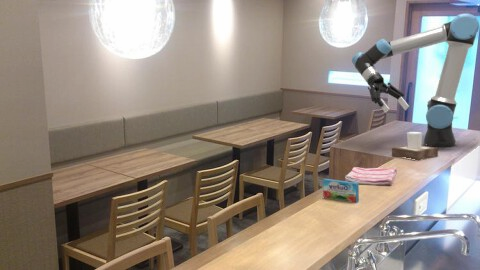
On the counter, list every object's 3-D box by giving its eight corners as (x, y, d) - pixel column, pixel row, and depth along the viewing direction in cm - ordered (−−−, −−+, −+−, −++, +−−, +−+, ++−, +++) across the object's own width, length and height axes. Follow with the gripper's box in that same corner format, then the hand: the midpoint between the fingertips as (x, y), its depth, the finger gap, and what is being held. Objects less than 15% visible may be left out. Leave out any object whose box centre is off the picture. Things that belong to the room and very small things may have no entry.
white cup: (419, 149, 207) (420, 134, 206) (404, 148, 211) (404, 133, 210) (424, 146, 212) (424, 131, 211) (409, 146, 216) (409, 131, 215)
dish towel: (343, 185, 170) (343, 175, 170) (354, 171, 191) (354, 162, 191) (391, 187, 163) (391, 178, 163) (397, 173, 184) (397, 164, 184)
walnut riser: (412, 152, 221) (412, 144, 221) (437, 156, 209) (437, 147, 209) (391, 156, 215) (391, 147, 214) (416, 160, 202) (416, 151, 202)
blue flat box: (323, 197, 154) (322, 179, 153) (325, 196, 155) (325, 178, 154) (356, 203, 146) (356, 184, 145) (358, 201, 147) (358, 182, 146)
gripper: (386, 81, 239) (410, 112, 228) (351, 84, 226) (374, 117, 215) (394, 71, 233) (419, 102, 223) (358, 73, 221) (383, 106, 210)
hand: (397, 109), depth 219 cm, fingers open, 13 cm apart
